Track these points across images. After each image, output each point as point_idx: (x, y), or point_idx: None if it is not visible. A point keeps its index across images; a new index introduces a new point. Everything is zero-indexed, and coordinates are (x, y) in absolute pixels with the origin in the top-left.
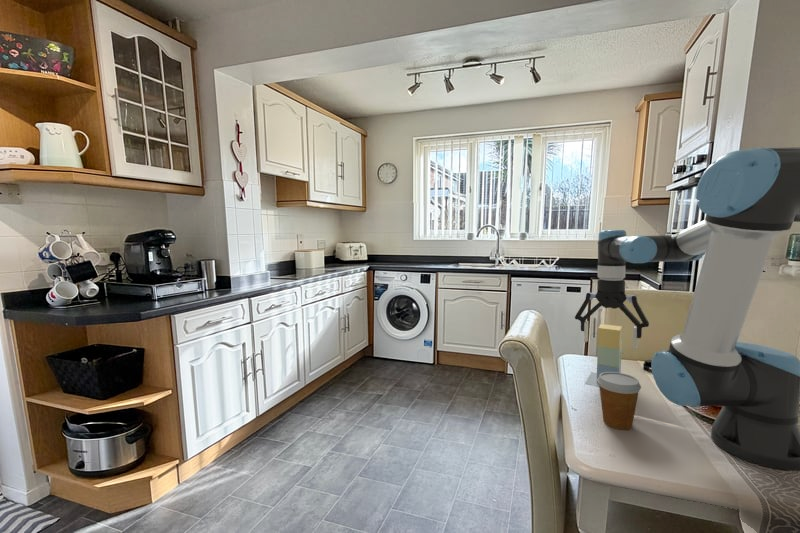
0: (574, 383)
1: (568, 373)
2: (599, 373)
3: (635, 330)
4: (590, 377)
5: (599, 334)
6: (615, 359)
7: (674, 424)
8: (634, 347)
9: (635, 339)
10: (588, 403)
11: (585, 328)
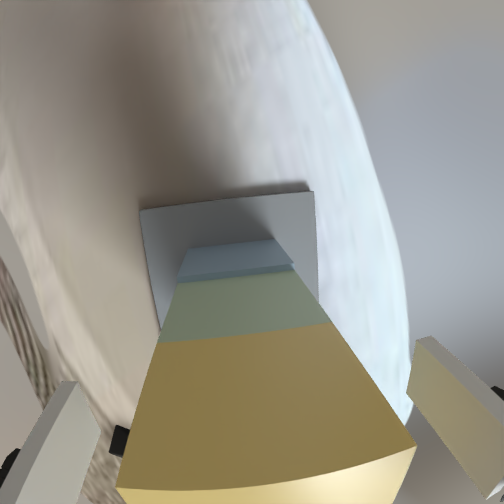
0: (351, 196)
1: (389, 290)
2: (271, 251)
3: (6, 495)
4: (310, 284)
5: (362, 394)
6: (192, 301)
7: (14, 84)
8: (67, 388)
9: (37, 433)
10: (252, 34)
11: (494, 404)
